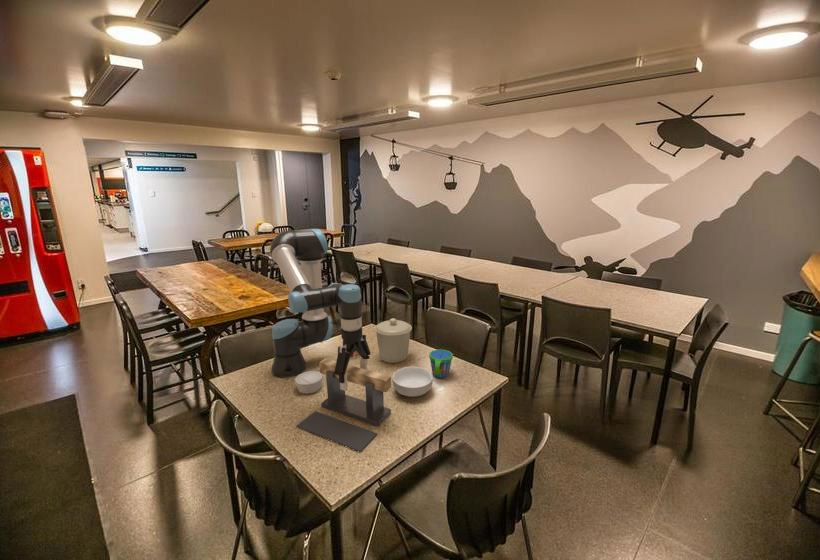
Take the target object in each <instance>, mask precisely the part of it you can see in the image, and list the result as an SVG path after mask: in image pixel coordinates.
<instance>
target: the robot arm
mask: <svg viewBox="0 0 820 560" xmlns="http://www.w3.org/2000/svg"><path fill="white" fill-rule="evenodd" d="M328 249H329V248H328V241H327V239H326V236H325V234H324V232H323V231H322V230H321V229H319V228H305V229H295V230H294V229H292V230H283V231H281V232H279V233H278V234H277V235H275V236H274V238H273V239H272V241H271V243H270V247H269V254H270V257H271V260H272V261H273V262H274V263H276V264H277V266H278V268H279V270H280V272H281V275H282V277H283V279H284V282H285V284H286V285H287V287H288V289H289V293H288V297H287V299H288V300H287V302H288V307H289V310H290V311H291V312H292V313H294V314H298V313H303V314H302V315H301V320H298V319H296V318H286V319H282V320H280V321H278V322H276V323H275V324H274V325H273V326H272V328H271V338H272V343H273V353H274V358H273V363H272V365H271V373H272V374H273V376H276V377H278V378H279V377H280V378H290V377H294V376H298V375H299V374H301V373H304V372H305V370H306V369H307V364H306V363H307V362H306V361H305V358H304V355H303V354H302V351H301V350H302V349H301V347H305V346H310V345H314V344H319V343H323V342H327V341H328V340H330V338H332V335H333V322H332V321H333V320H332V318H331V317H330V316H329V315H328V313H327V312H325V311H324V309H326V308H331V307H332V308H333V307H338V308H339V312H340V313H339V314H340V317H339V318H340V328H341V329H340V332H341V339H342V341H343V340H344V345H343V344H342V346H338V347H337V356H336V360H335V361H336V366H335V372H334V374H335V375H339V382H340V389H341V390H344V391H345V392H347V391H348V381H347V374H346V373H345V372H346V369H347V366H348V365H349V362H350V360H351V358H350V357H351V356H352V355H353V353H354V352H355V351H357V352H358V353H359V355H360V356H359V357H360V359H359V368H362V369H366V370H368V360H369V359H371V358H370V355H371V353H372V352H371V350H370V348H369V345H368V344H369V343H368V342H367V335H365V334H363V327H362V326H363V321H362V291H361V287H360V286H359V285H357V284H352V283H349V284H347V283H346V284H342V283H340V282H339V283H338V282H333V283H330V284H329V285H328V286H324V287H323V283H322V281H323V280H322V268H321V267H322V265H321V264H322V263H321V262H323V260H324V255H326V254H327V253H328ZM346 351H347V352H348V353H349V354H348V353H346Z"/></svg>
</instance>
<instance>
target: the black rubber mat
mask: <svg viewBox="0 0 820 560" xmlns="http://www.w3.org/2000/svg"><path fill="white" fill-rule="evenodd" d="M295 427H296V428H297V427H298V428H297V429H300V428H301V429H300V430H302V429H304V430H303V431H305V430H306V431H305V432H307V431H309V432H308V433H310V432H311V433H310V434H312V433H313V435H315V434H316V435H315V436H317V435H318V436H317V437H320V436H321V437H320V438H322V437H324V438H323V439H325V438H326V439H325V440H327V439H329V440H328V441H330V440H332V441H334V442H333V443H335V442H337V443H339V444H338V445H340V444H341V445H340V446H342V445H344V446H343V447H345V446H347V447H349V448H348V449H350V448H351V449H350V450H352V449H354V450H353V451H355V450H356V451H355V452H357V451H359V452H358V453H360V452H361V451H362V450H363V449H364V448H365V449H366V448H367V446H368V445H369V444H370V443H372V441H373V440H374V439H375V438H376V437H377V436H378V433H377V432H376V431H373V430H370V429H367V428H365V427H362V426H359V425H356V424H353V423H350V422H348V421H345V420H342V419H339V418H336V417H333V416H331V415H328V414H325V413H322V412H320V411H317V410H314V411H313V412H311V413H310V414H309V415H308V416H307V417H305V418H304V419H303V420H302V421H300V422H299V423H298V424H296V425H295ZM332 441H331V442H332ZM337 443H336V444H337ZM347 447H346V448H347ZM365 449H364V450H365ZM364 450H363V451H364ZM363 451H362V452H363ZM362 452H361V453H362Z"/></svg>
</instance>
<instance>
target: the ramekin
mask: <svg viewBox="0 0 820 560" xmlns="http://www.w3.org/2000/svg"><path fill="white" fill-rule="evenodd" d="M294 382H295V384H296V388H297V390H298V392H299V393H300V394H304V393H305V394H304V395H309V393H311V394H313V393H317V392H318V391H319V390H320V389H321V388H322V383H323V374H322V373H320V371H316V370H309V371H303V372H302V373H300V374H298V375H296V377H295V378H294Z"/></svg>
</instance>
